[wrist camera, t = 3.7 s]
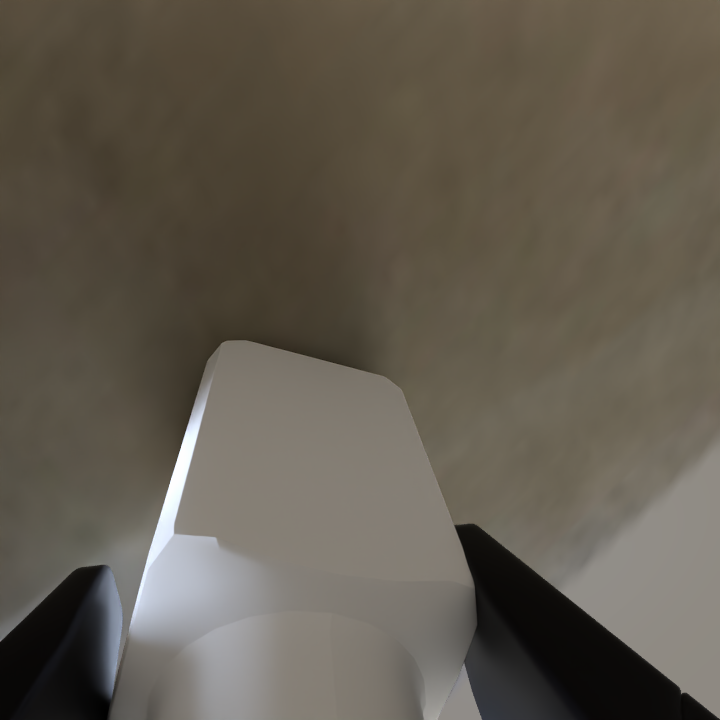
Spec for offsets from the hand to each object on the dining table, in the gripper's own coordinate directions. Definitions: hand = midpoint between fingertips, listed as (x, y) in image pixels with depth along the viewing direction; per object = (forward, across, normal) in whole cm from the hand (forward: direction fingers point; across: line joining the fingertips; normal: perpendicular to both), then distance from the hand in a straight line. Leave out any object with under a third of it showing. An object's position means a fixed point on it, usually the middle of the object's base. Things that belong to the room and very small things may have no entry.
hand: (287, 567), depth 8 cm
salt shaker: (+5, 0, 0) cm, 5 cm away
